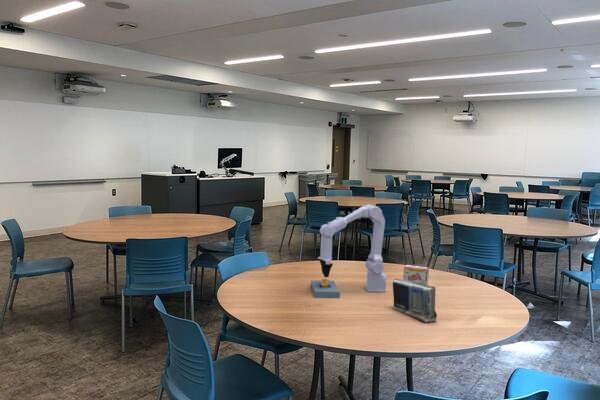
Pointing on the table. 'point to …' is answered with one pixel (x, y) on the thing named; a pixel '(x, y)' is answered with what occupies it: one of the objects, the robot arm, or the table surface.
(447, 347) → the table surface
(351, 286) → the table surface
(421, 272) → the candy bar box
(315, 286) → the jig
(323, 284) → the brass cylinder
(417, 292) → the radio
